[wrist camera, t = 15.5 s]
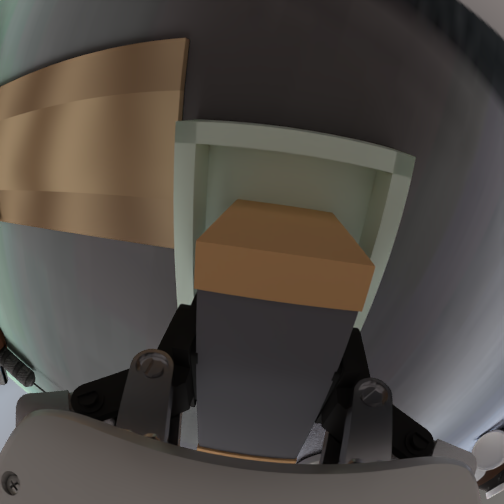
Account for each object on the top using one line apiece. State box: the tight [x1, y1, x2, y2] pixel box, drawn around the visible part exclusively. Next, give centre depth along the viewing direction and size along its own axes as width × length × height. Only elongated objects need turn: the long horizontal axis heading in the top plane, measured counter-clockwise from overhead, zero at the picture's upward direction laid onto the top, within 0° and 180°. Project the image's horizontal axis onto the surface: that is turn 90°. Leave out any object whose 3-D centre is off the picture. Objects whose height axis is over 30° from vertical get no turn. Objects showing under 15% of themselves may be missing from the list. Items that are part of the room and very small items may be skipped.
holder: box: [0, 38, 190, 248], centre depth 12 cm, size 18×10×1 cm, turn 85°
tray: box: [173, 119, 416, 331], centre depth 13 cm, size 9×14×2 cm, turn 175°
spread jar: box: [472, 428, 504, 499], centre depth 19 cm, size 12×11×12 cm
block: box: [194, 199, 375, 464], centre depth 11 cm, size 10×4×6 cm, turn 175°
